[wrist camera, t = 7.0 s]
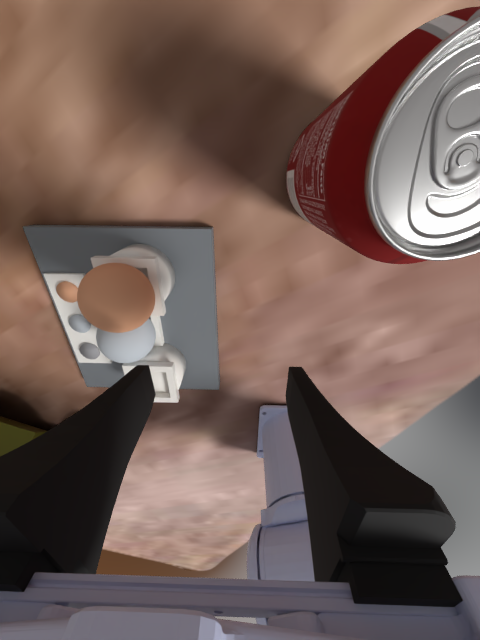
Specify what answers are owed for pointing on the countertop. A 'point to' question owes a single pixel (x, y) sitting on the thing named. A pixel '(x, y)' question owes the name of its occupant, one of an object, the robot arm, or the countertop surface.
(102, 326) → the terracotta ball
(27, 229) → the slate board
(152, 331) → the grey ball
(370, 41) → the countertop surface
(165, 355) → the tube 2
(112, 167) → the countertop surface
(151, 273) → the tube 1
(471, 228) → the soda can
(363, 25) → the countertop surface
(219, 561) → the countertop surface
